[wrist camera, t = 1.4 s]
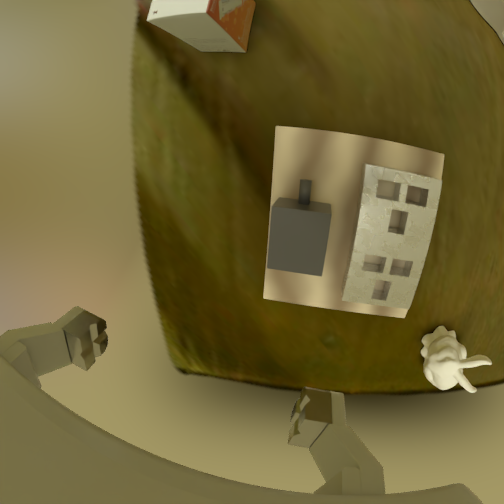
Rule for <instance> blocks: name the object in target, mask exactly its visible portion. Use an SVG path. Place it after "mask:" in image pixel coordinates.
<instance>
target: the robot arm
mask: <svg viewBox="0 0 504 504" xmlns="http://www.w3.org/2000/svg"><path fill="white" fill-rule="evenodd" d="M470 1H471V2H472V4H473V5H474V7H475V8H476V9H477V11H478V12H479V13H480V14H481V16H482V17H483V18H484V19H485V20H486V21H487V22H488V23H489V24H490V26H491V27H492V28H493V29H494V30H495V31H496V32H497V34H498V36H499V37H500V39H501V41H502V43H503V44H504V0H470ZM106 328H107V326H106V321H105V320H103V319H102V318H99V317H97V316H96V315H94V314H92V313H90V312H88V311H86V310H84V309H82V308H80V307H78V306H77V307H74V308H72V309H71V310H70V311H69V312H67V313H66V314H65V315H63V316H62V317H61V318H60V319H58V320H57V321H56V322H54V323H53V324H52V323H51V322H50V323H45V324H40V325H34V326H29V327H24V328H19V329H13V330H8V331H6V332H5V333H4V334H3V335H1V336H0V504H482V502H481V500H480V499H479V498H478V497H477V496H476V495H475V494H474V493H473V492H472V491H471V490H470V489H469V488H468V487H466V486H465V485H464V484H460V483H457V484H451V485H447V486H442V487H437V488H432V489H426V490H419V491H412V492H404V493H394V494H385V486H384V475H383V467H382V466H381V464H380V463H379V462H378V461H377V459H376V458H375V457H374V456H373V455H372V453H371V452H370V451H369V450H368V448H367V447H366V446H365V445H364V443H363V442H362V441H361V440H360V438H359V437H358V436H357V435H356V433H355V432H354V431H353V430H352V428H351V427H349V426H346V414H345V403H344V395H343V393H338V392H332V391H326V390H321V389H315V388H310V387H304V388H303V390H302V391H301V396H300V399H298V400H297V401H296V403H295V405H294V407H293V410H292V414H291V420H290V422H291V423H292V427H291V429H290V430H289V439H288V444H289V445H294V446H299V447H305V448H309V451H310V452H311V454H312V456H313V458H314V460H315V462H316V464H317V466H318V468H319V470H320V472H321V473H322V475H323V477H324V479H325V481H326V483H325V484H324V485H323V486H321V487H320V488H319V489H318V490H316V491H315V492H314V494H310V493H300V492H292V491H285V490H278V489H271V488H266V487H260V486H255V485H250V484H245V483H241V482H237V481H233V480H228V479H225V478H221V477H217V476H214V475H211V474H207V473H204V472H200V471H197V470H195V469H191V468H189V467H186V466H183V465H180V464H177V463H175V462H172V461H169V460H167V459H164V458H161V457H159V456H157V455H154V454H152V453H150V452H147V451H145V450H143V449H140V448H138V447H136V446H134V445H132V444H130V443H128V442H126V441H124V440H122V439H120V438H118V437H116V436H114V435H112V434H110V433H108V432H107V431H105V430H103V429H101V428H99V427H97V426H96V425H94V424H92V423H91V422H89V421H87V420H86V419H84V418H82V417H81V416H79V415H78V414H76V413H74V412H73V411H71V410H70V409H68V408H67V407H65V406H64V405H62V404H61V403H59V402H58V401H56V400H55V399H54V398H52V397H51V396H50V395H48V394H47V393H45V392H44V391H43V390H42V389H41V384H40V381H39V379H38V376H41V375H44V374H46V373H49V372H52V371H54V370H57V369H59V368H62V367H65V366H67V365H70V364H72V363H73V364H75V365H76V366H78V367H80V368H82V369H84V370H86V371H87V370H88V369H89V368H90V367H91V366H92V365H93V364H94V363H95V357H98V356H101V355H102V354H103V353H104V352H105V350H106V347H107V344H108V336H107V334H106V332H105V331H104V330H105V329H106Z"/></svg>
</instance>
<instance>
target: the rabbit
mask: <svg viewBox="0 0 504 504" xmlns="http://www.w3.org/2000/svg"><path fill="white" fill-rule="evenodd" d="M422 343H423V345H424V347H423V348H422V349H421V354H422V356H423V357H424V358H425V360H424V365H423V366H424V373H425V376H426V378H427V379H428V380H429V381H430V382H431V383H432V384H433V385H434V386H437V387H438V388H439V389H441V390H446V389H449V388H451V387H453V386H455V385H456V384H457V383H458V382H459V384H460V385H461V386H462V387H464V388H465V389H466V390H467V391H468V392H470V393H474V392H475V391H477V389H476V388H475V387H473V386H472V385H471V384H470V383H469V381H468V380H467V378H466V377H465V376H464V375H463V374H462V373H463V368H471V367H476V366H480V365H492V362H491V360H490V359H489V358H488V357H486V356H483V355H475V356H473V357H470V358H467V359H466V355H467V352H466V349H465V347H464V346H463V345H462V344H460V343H458V341H457V340H456V334H455V331H453V330H452V331H447V329H446V328H445V327H444V326H439V327H437V328H436V329H435V331H434V332H433V333H430V334H426V335H425V336H424V337H423V338H422Z"/></svg>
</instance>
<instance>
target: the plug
mask: <svg viewBox="0 0 504 504" xmlns="http://www.w3.org/2000/svg"><path fill="white" fill-rule="evenodd" d="M311 186H312V180H308V179H300V187H299V197H298V199H291V198H282V197H279V198H278V199H277V200H276V201H275V203H274V204H273V205H272V208H271V221H270V234H269V247H268V260H267V268H268V269H275V270H281V271H288V272H294V273H301V274H308V275H314V276H321V277H322V273H323V267H324V262H325V256H326V249H327V243H328V237H329V230H330V223H331V216H332V212H331V204H329V203H322V202H314V201H310V196H311Z"/></svg>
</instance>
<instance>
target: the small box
mask: <svg viewBox="0 0 504 504" xmlns="http://www.w3.org/2000/svg"><path fill="white" fill-rule="evenodd" d="M255 6H256V3H255V2H254V0H152V3H151V7H150V10H149V14H148V17H147V21H148V22H150V23H152V24H154V25H156V26H158V27H160V28H162V29H164V30H166V31H167V32H169V33H171V34H173V35H174V36H176V37H178V38H180V39H181V40H183V41H185V42H186V43H188V44H190V45H191V46H193V47H195V48H196V49H198V50H199V51H201V52H244V53H246V52H247V45H248V39H249V34H250V28H251V23H252V19H253V14H254V10H255Z"/></svg>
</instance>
